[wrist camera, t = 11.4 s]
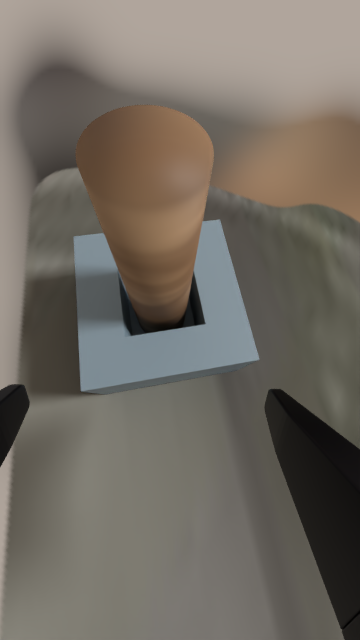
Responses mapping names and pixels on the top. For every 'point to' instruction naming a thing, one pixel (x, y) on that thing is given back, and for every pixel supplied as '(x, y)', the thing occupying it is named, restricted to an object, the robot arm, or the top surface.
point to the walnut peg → (149, 203)
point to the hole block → (165, 346)
